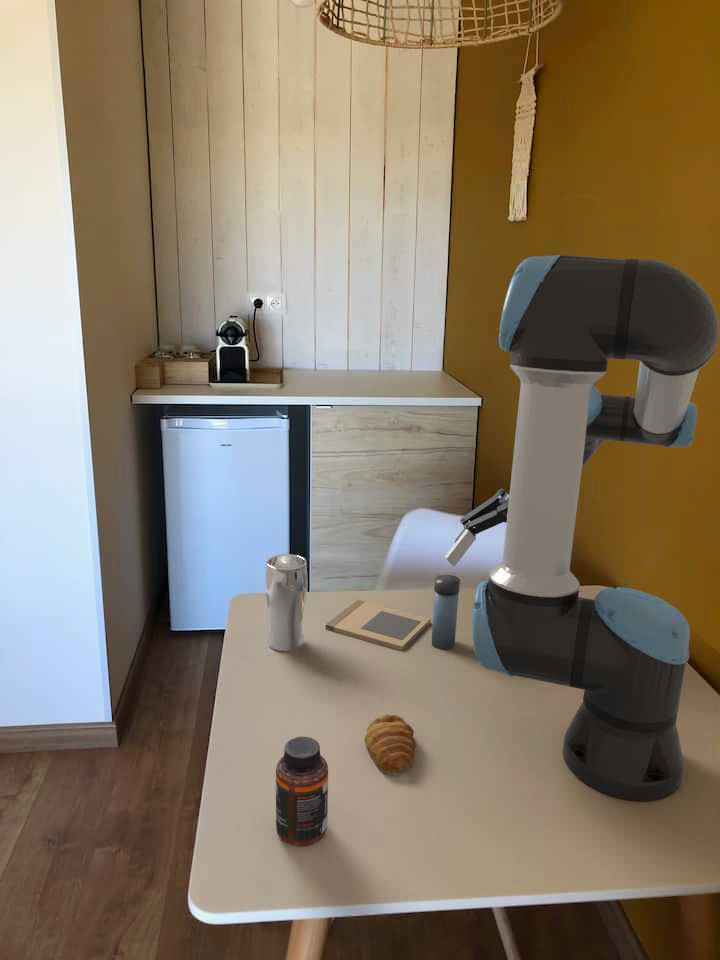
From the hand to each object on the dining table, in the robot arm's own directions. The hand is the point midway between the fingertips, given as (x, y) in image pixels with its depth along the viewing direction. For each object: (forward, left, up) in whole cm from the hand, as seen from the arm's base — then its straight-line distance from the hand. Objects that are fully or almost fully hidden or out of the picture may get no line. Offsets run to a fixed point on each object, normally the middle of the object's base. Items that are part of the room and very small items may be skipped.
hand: (473, 575), depth 134 cm
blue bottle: (-6, +3, -11) cm, 13 cm away
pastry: (-37, -3, -12) cm, 39 cm away
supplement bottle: (-56, 0, -11) cm, 57 cm away
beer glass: (-20, +26, -11) cm, 34 cm away
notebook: (-6, +15, -11) cm, 20 cm away
